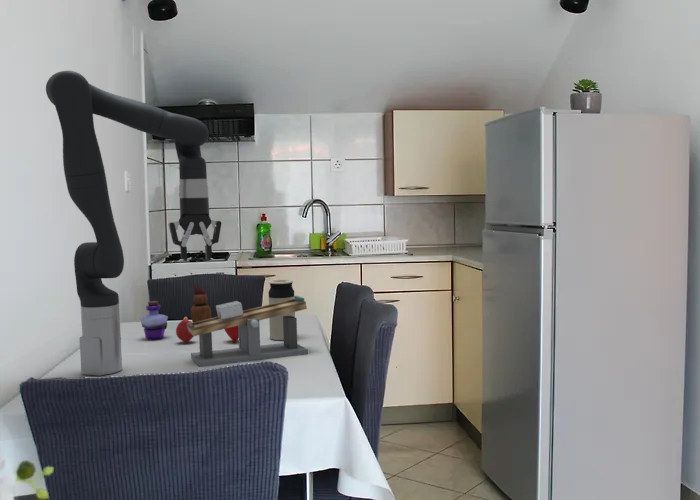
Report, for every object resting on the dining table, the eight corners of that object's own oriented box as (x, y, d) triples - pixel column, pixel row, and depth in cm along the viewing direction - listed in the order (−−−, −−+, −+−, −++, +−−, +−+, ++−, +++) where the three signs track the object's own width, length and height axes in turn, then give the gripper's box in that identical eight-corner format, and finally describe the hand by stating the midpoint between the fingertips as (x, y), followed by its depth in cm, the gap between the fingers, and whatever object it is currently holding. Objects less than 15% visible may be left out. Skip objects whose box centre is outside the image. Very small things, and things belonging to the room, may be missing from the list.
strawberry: (232, 345, 202) (231, 312, 201) (219, 341, 208) (218, 309, 207) (249, 342, 206) (248, 309, 205) (236, 338, 211) (235, 307, 211)
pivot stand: (200, 367, 175) (198, 325, 175) (190, 356, 188) (188, 317, 187) (309, 354, 187) (307, 315, 186) (292, 345, 200) (291, 308, 199)
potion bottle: (174, 337, 216) (173, 300, 215) (153, 342, 209) (151, 304, 208) (156, 334, 221) (154, 298, 220) (134, 339, 214) (133, 302, 213)
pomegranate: (190, 345, 204) (189, 318, 203) (173, 344, 205) (172, 318, 204) (199, 341, 209) (198, 315, 209) (181, 340, 211) (180, 315, 210)
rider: (222, 322, 182) (219, 308, 181) (218, 319, 186) (215, 305, 186) (243, 317, 184) (241, 303, 183) (239, 314, 188) (236, 300, 188)
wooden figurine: (188, 327, 234) (186, 284, 233) (197, 324, 239) (195, 282, 238) (206, 327, 232) (204, 284, 231) (214, 324, 238) (212, 282, 236)
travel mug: (272, 341, 206) (270, 283, 204) (268, 336, 213) (266, 280, 212) (297, 339, 208) (296, 281, 207) (293, 334, 215) (291, 278, 214)
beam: (193, 336, 177) (191, 325, 177) (188, 331, 184) (186, 320, 184) (306, 308, 189) (305, 298, 189) (297, 305, 197) (296, 295, 196)
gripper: (168, 197, 173) (171, 262, 174) (224, 195, 178) (226, 259, 180) (164, 197, 180) (167, 260, 181) (217, 196, 185) (220, 257, 187)
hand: (196, 259), depth 180 cm, fingers open, 5 cm apart
